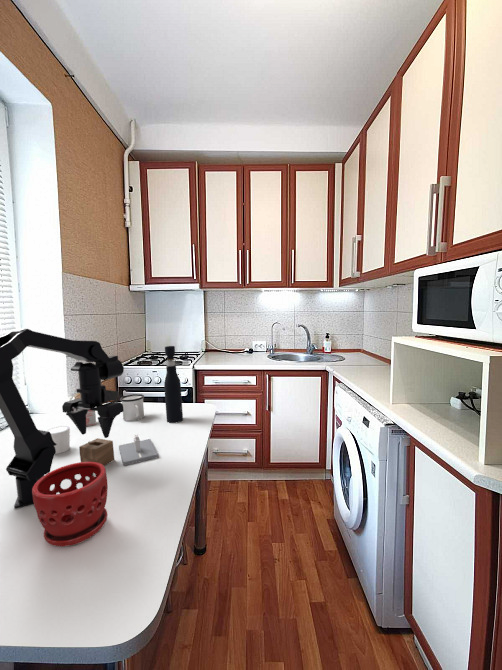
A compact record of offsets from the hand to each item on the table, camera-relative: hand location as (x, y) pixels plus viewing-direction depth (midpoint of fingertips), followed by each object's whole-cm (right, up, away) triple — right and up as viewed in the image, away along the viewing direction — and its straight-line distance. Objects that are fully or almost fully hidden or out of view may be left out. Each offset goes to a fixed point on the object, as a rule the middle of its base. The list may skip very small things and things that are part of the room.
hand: (95, 435), depth 98 cm
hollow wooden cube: (+1, -8, +1) cm, 9 cm away
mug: (-2, -5, +41) cm, 41 cm away
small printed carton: (-20, -7, +36) cm, 42 cm away
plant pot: (+10, -11, -30) cm, 33 cm away
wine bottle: (+15, -5, +36) cm, 39 cm away
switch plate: (+10, -7, +7) cm, 14 cm away
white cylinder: (-17, -9, +12) cm, 23 cm away
